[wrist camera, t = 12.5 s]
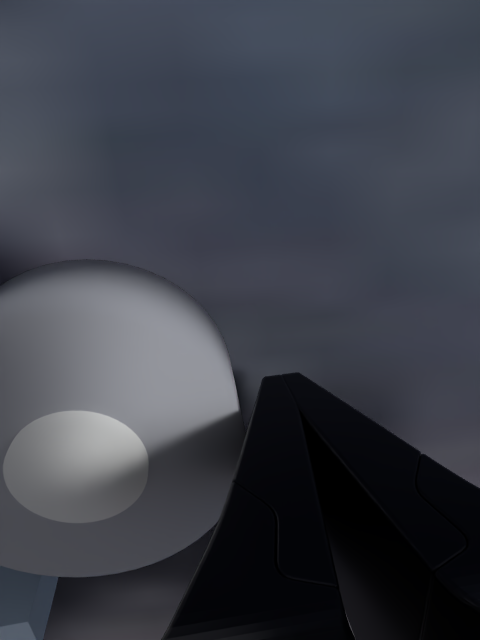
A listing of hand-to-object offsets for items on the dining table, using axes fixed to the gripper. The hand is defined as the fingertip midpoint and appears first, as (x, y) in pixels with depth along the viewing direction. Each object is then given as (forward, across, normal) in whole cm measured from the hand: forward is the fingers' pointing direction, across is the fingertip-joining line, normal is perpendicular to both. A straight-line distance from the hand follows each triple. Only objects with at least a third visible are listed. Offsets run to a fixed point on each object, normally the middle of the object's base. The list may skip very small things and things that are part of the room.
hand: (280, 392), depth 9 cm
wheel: (+1, +4, 0) cm, 4 cm away
